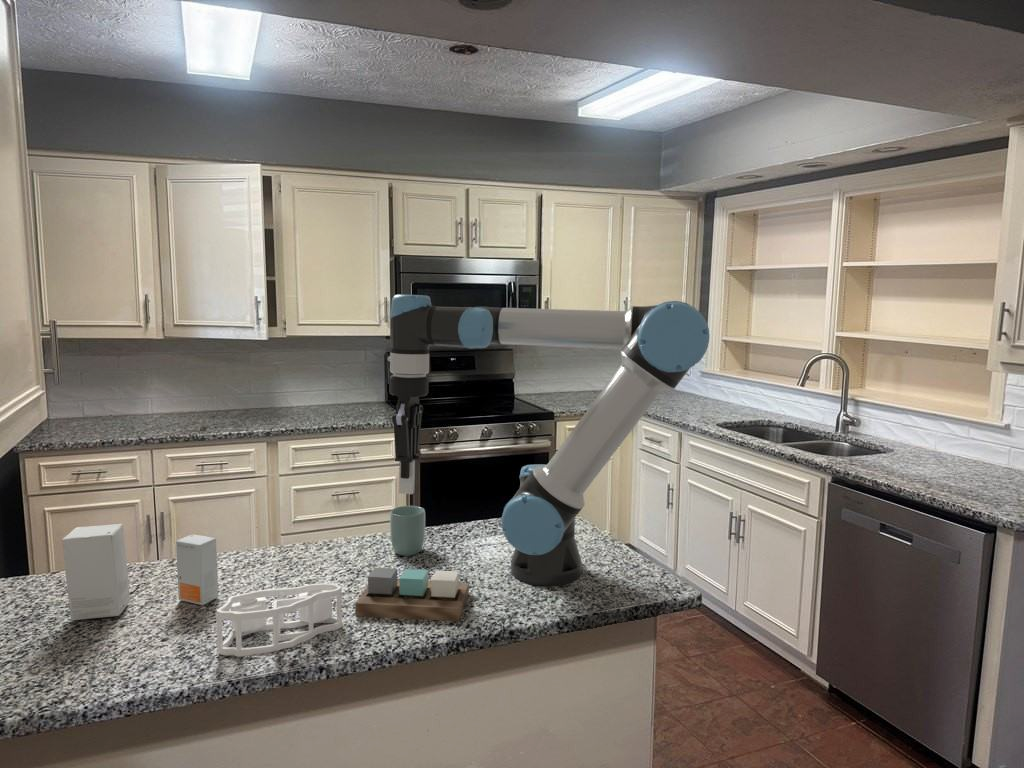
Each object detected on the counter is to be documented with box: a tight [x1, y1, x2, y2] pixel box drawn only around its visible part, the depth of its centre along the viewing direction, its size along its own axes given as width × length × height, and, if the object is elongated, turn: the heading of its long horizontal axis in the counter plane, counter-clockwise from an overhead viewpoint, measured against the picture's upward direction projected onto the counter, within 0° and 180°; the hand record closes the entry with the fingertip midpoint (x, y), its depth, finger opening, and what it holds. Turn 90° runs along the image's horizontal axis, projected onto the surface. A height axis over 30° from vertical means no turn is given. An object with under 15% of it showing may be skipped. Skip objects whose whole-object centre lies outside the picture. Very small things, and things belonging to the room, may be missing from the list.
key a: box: [431, 570, 460, 598], centre depth 126 cm, size 4×4×3 cm
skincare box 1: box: [61, 523, 131, 621], centre depth 122 cm, size 8×7×16 cm
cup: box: [389, 505, 426, 557], centre depth 153 cm, size 8×8×10 cm
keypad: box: [354, 579, 470, 622], centre depth 127 cm, size 19×11×2 cm, turn 85°
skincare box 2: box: [175, 534, 219, 606], centre depth 128 cm, size 6×4×12 cm
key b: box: [398, 568, 429, 596], centre depth 126 cm, size 4×4×3 cm
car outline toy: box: [215, 582, 343, 658], centre depth 115 cm, size 20×11×7 cm, turn 108°
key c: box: [367, 567, 398, 594], centre depth 127 cm, size 4×4×3 cm
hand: (406, 492), depth 133 cm, fingers closed
